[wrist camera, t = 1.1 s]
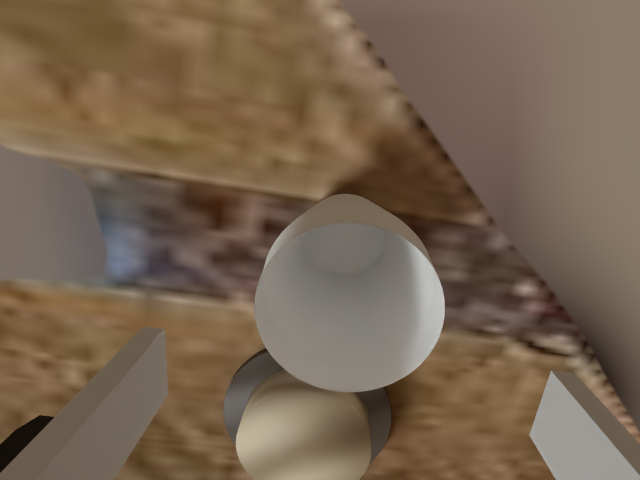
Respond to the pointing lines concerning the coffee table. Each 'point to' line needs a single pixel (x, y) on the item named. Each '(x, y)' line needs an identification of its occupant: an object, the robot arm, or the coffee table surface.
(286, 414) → the pedestal
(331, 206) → the cup
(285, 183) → the coffee table surface
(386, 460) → the coffee table surface
